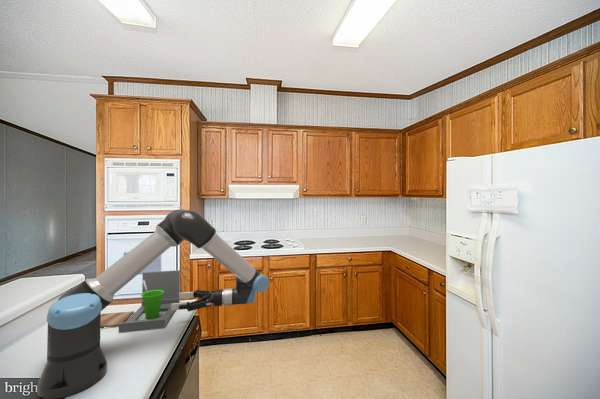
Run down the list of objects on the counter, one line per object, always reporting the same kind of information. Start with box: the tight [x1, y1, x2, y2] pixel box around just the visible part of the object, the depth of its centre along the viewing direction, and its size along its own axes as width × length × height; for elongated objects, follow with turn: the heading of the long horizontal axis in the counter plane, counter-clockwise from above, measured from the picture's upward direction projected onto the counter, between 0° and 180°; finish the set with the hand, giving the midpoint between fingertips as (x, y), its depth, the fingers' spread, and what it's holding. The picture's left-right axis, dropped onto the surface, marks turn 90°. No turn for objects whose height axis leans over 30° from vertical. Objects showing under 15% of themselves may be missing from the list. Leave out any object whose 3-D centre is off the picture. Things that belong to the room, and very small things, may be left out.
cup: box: [140, 290, 164, 320], centre depth 114 cm, size 9×9×11 cm
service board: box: [100, 311, 135, 329], centre depth 110 cm, size 13×13×1 cm
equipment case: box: [118, 269, 181, 333], centre depth 114 cm, size 17×25×18 cm
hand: (175, 301), depth 116 cm, fingers open, 13 cm apart
